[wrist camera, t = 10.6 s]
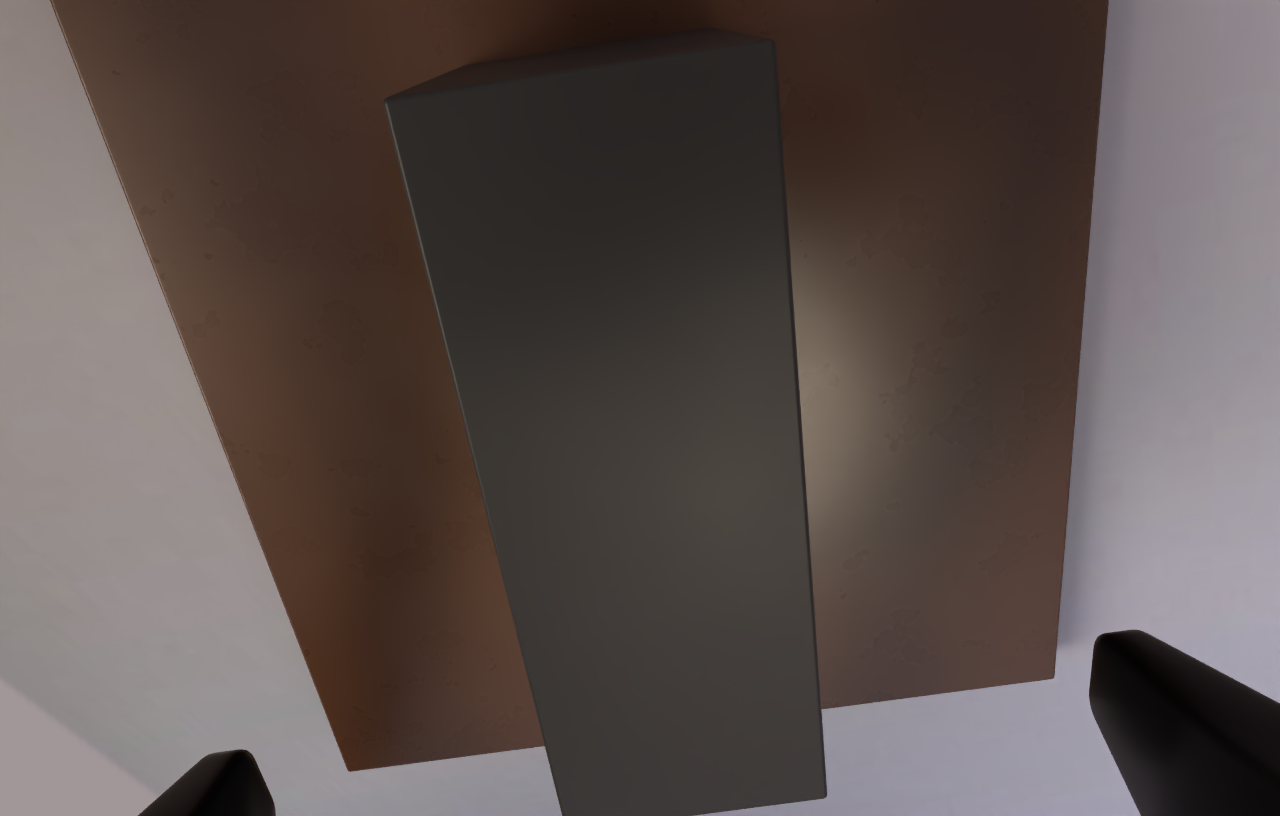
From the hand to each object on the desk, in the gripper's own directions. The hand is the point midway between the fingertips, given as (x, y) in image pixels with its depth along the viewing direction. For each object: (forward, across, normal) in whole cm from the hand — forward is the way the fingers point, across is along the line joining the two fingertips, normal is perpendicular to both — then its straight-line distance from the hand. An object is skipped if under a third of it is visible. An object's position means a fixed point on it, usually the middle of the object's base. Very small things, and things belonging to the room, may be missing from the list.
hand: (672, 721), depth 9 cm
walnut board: (+10, 0, 0) cm, 11 cm away
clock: (+10, 0, 0) cm, 10 cm away
